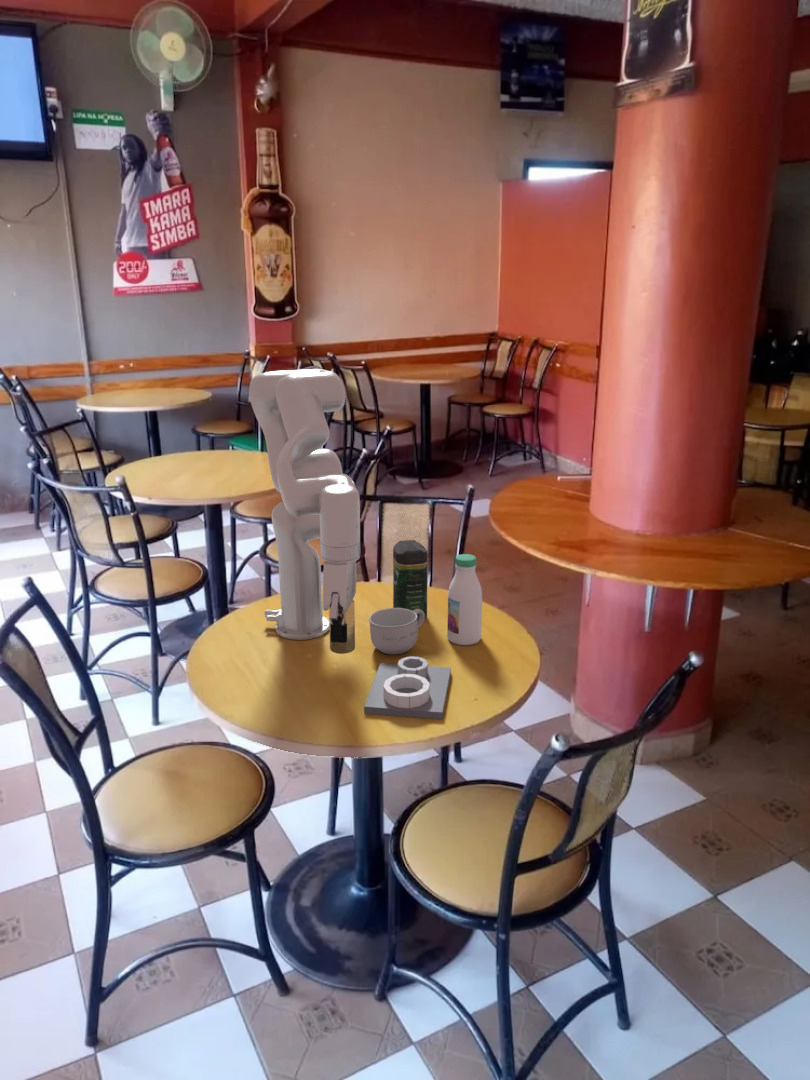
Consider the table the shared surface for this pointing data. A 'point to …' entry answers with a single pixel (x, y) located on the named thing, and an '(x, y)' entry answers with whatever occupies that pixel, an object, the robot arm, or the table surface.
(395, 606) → the coffee jar
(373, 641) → the teacup
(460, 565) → the milk bottle
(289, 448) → the robot arm
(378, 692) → the collar board
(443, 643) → the table surface
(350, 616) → the gold cylindrical peg
